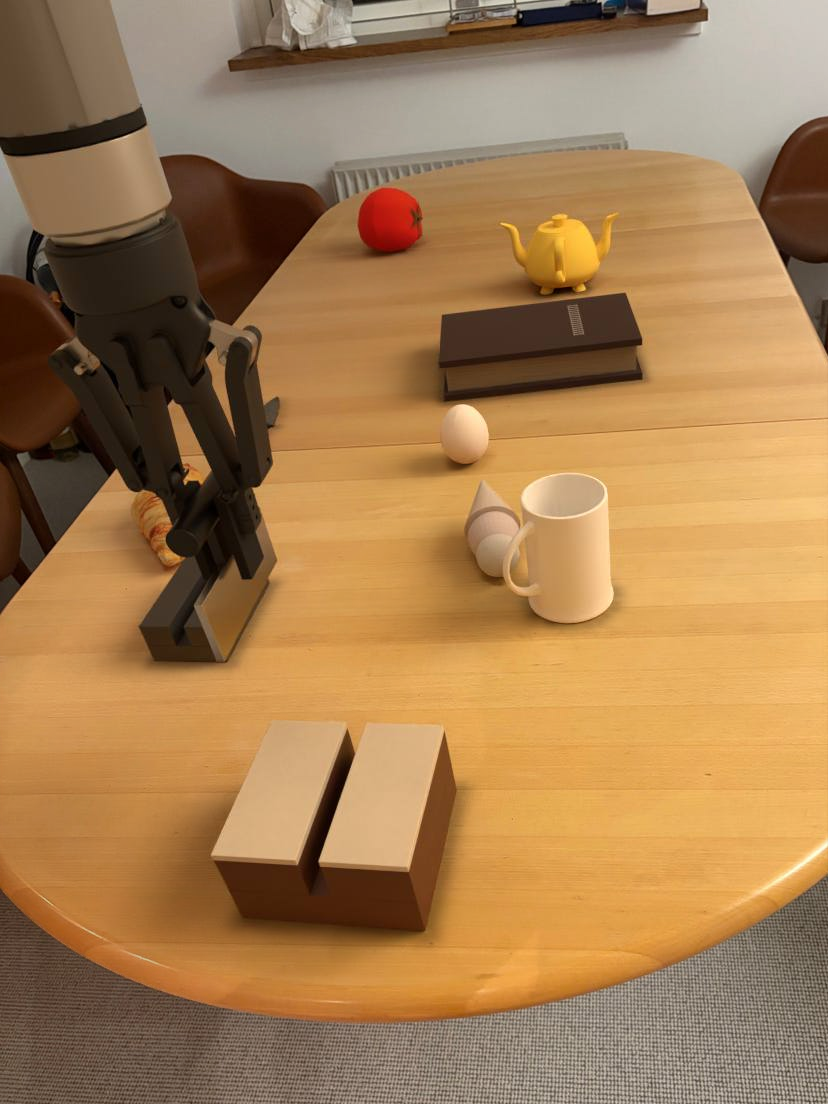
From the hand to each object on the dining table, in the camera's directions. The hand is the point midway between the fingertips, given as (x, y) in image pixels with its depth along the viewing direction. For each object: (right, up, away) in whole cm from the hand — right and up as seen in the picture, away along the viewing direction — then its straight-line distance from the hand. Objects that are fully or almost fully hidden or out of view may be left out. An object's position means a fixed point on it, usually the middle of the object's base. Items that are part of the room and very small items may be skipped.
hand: (234, 568), depth 65 cm
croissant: (-19, +9, +46) cm, 51 cm away
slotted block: (-10, -3, +31) cm, 33 cm away
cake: (+8, -22, +5) cm, 24 cm away
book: (+26, +36, +71) cm, 84 cm away
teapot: (+32, +56, +94) cm, 114 cm away
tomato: (0, +75, +122) cm, 143 cm away
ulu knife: (0, -3, +2) cm, 4 cm away
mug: (+25, -2, +26) cm, 37 cm away
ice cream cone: (+19, +5, +35) cm, 40 cm away
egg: (+16, +17, +50) cm, 56 cm away
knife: (-13, +25, +66) cm, 72 cm away
